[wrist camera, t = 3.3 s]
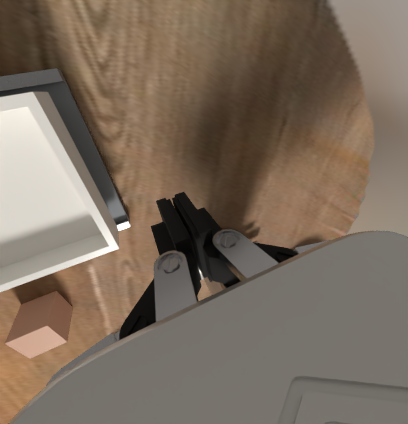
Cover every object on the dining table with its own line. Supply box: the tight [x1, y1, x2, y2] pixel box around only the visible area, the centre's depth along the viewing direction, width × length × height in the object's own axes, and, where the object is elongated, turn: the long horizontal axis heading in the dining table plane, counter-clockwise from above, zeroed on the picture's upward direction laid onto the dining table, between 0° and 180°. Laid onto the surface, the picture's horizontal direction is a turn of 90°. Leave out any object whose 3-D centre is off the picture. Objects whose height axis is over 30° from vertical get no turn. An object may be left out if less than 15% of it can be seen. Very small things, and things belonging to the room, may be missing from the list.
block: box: [5, 291, 73, 358], centre depth 30 cm, size 5×5×6 cm
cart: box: [0, 92, 119, 292], centre depth 19 cm, size 16×16×7 cm
